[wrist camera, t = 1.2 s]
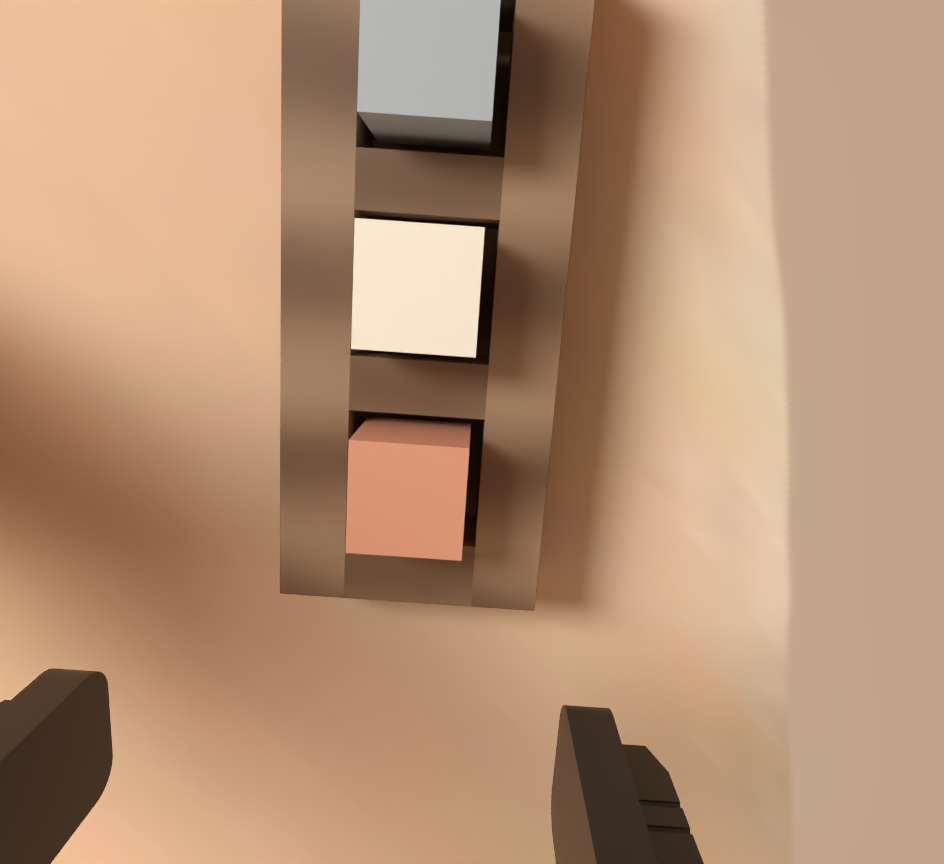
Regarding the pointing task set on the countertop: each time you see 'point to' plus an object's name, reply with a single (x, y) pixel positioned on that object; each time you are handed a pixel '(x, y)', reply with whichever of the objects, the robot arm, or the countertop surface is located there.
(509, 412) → the key panel
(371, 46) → the slate key
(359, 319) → the cream cube
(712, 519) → the countertop surface
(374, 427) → the pink cube
